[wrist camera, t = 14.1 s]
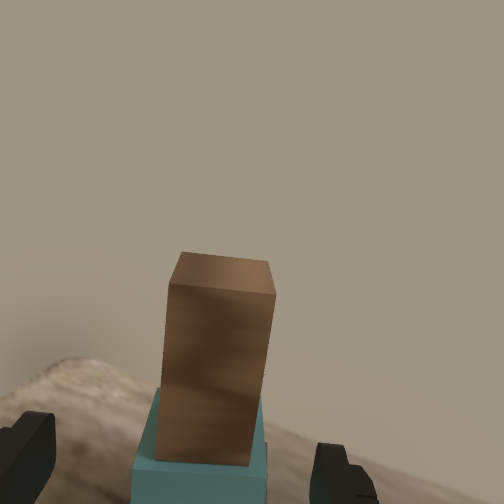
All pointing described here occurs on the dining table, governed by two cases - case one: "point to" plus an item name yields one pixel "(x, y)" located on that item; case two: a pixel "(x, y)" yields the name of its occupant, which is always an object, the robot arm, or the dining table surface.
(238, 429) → the walnut pillar
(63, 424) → the dining table surface
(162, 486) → the tower top slab
